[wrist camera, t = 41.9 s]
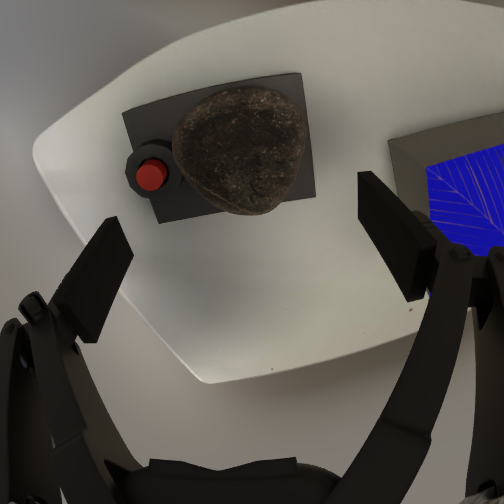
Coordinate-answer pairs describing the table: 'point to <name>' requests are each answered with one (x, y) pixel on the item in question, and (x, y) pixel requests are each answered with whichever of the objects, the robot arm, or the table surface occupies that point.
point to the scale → (160, 147)
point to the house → (456, 179)
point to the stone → (241, 148)
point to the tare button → (151, 174)
